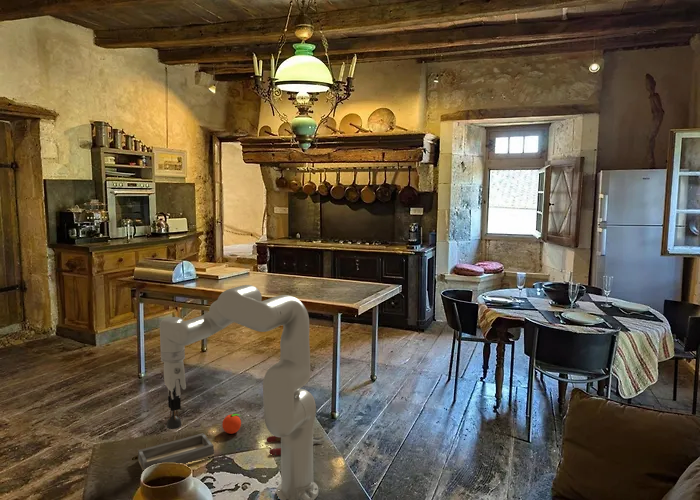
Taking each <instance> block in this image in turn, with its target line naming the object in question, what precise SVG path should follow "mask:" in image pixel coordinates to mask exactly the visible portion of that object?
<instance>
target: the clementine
mask: <svg viewBox="0 0 700 500" xmlns="http://www.w3.org/2000/svg"><path fill="white" fill-rule="evenodd" d="M239 416H240V417H241V418H242V419H243V416H242V415H241V414H239V413H232V414H228V415H226V416H225V417H224V419H223V420H222V425H221V426H222V429H223V431H224V432H225V433H227V434H231V435H233V434H236V433H237V432H238V431H239V430H240V429H241V426H242V420H241V418H240V417H239Z"/></svg>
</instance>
